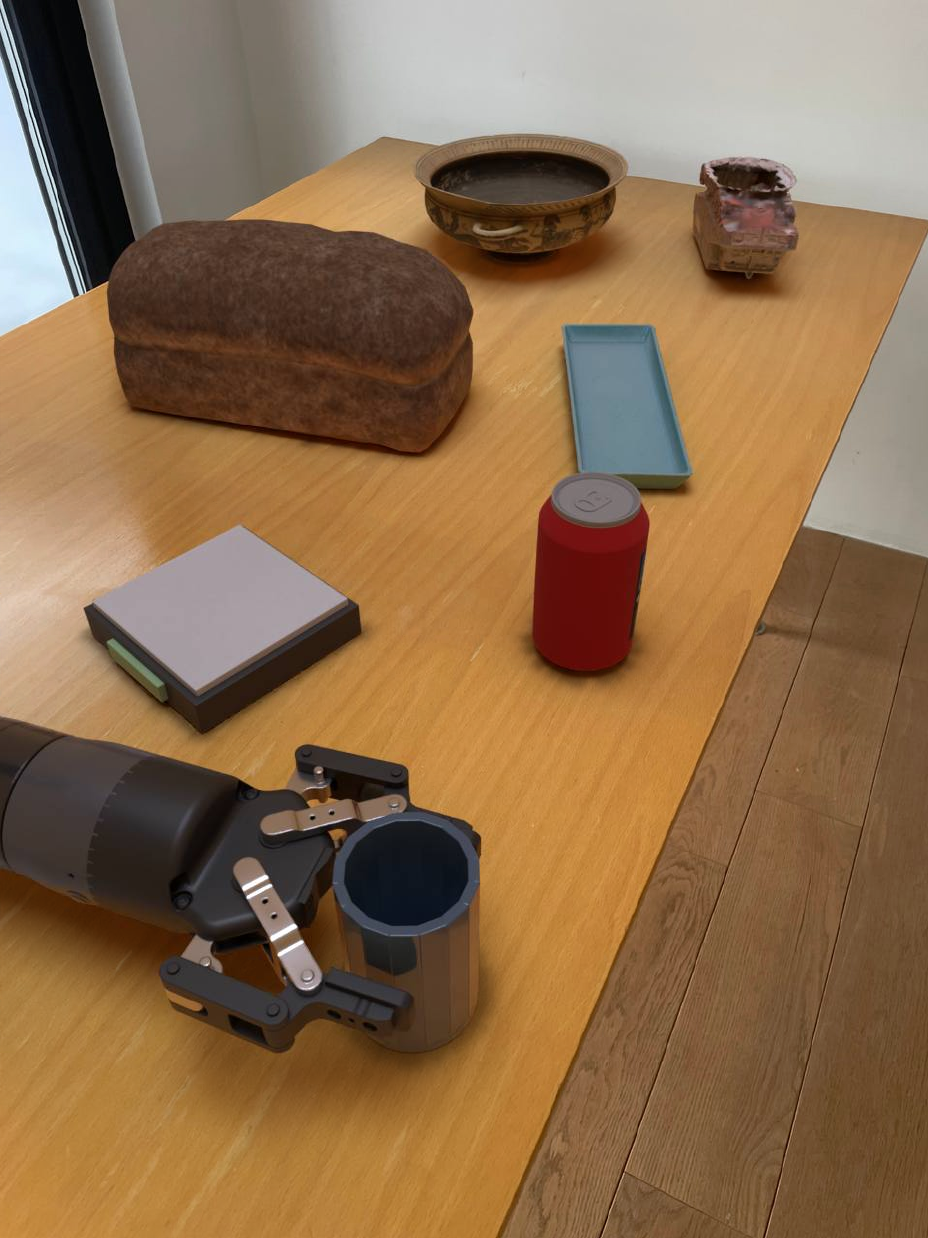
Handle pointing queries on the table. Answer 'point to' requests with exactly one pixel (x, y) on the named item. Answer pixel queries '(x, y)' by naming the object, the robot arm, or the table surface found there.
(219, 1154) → the table surface
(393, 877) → the cup
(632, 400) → the teal serving tray
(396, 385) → the bread
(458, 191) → the ceramic bowl
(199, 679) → the scale
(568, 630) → the beverage can
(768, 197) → the decorative box
